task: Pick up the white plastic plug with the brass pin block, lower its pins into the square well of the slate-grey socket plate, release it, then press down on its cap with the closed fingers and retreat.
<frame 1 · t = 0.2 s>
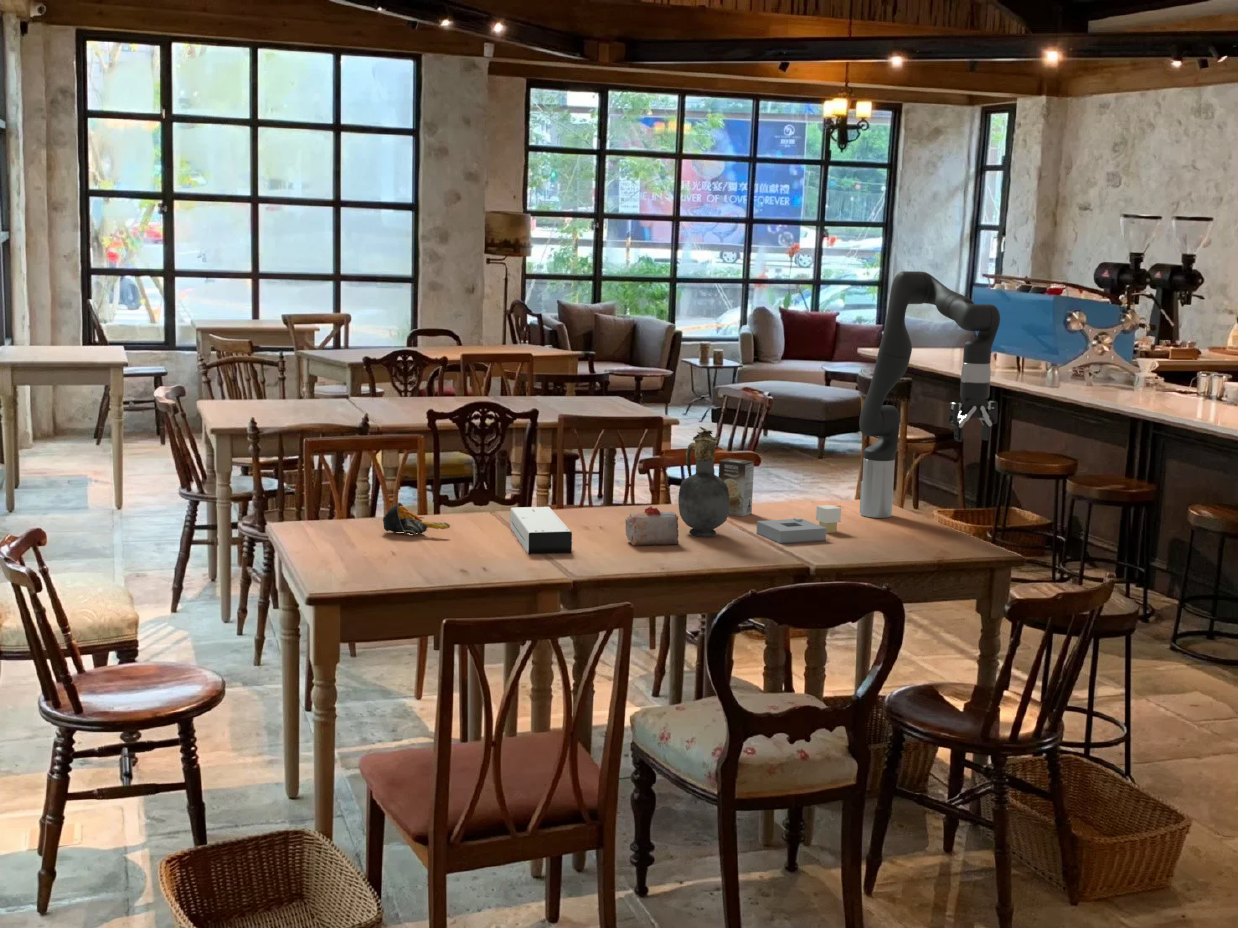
hand: (971, 440, 354), 29 cm above the table, fingers open, 8 cm apart
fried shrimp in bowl: (414, 535, 361), on the table
coffee box: (734, 513, 399), on the table
laminator: (541, 542, 357), on the table
food item: (651, 544, 356), on the table
socket plate: (790, 537, 367), on the table
plug: (827, 531, 375), on the table
pitcher: (700, 533, 370), on the table
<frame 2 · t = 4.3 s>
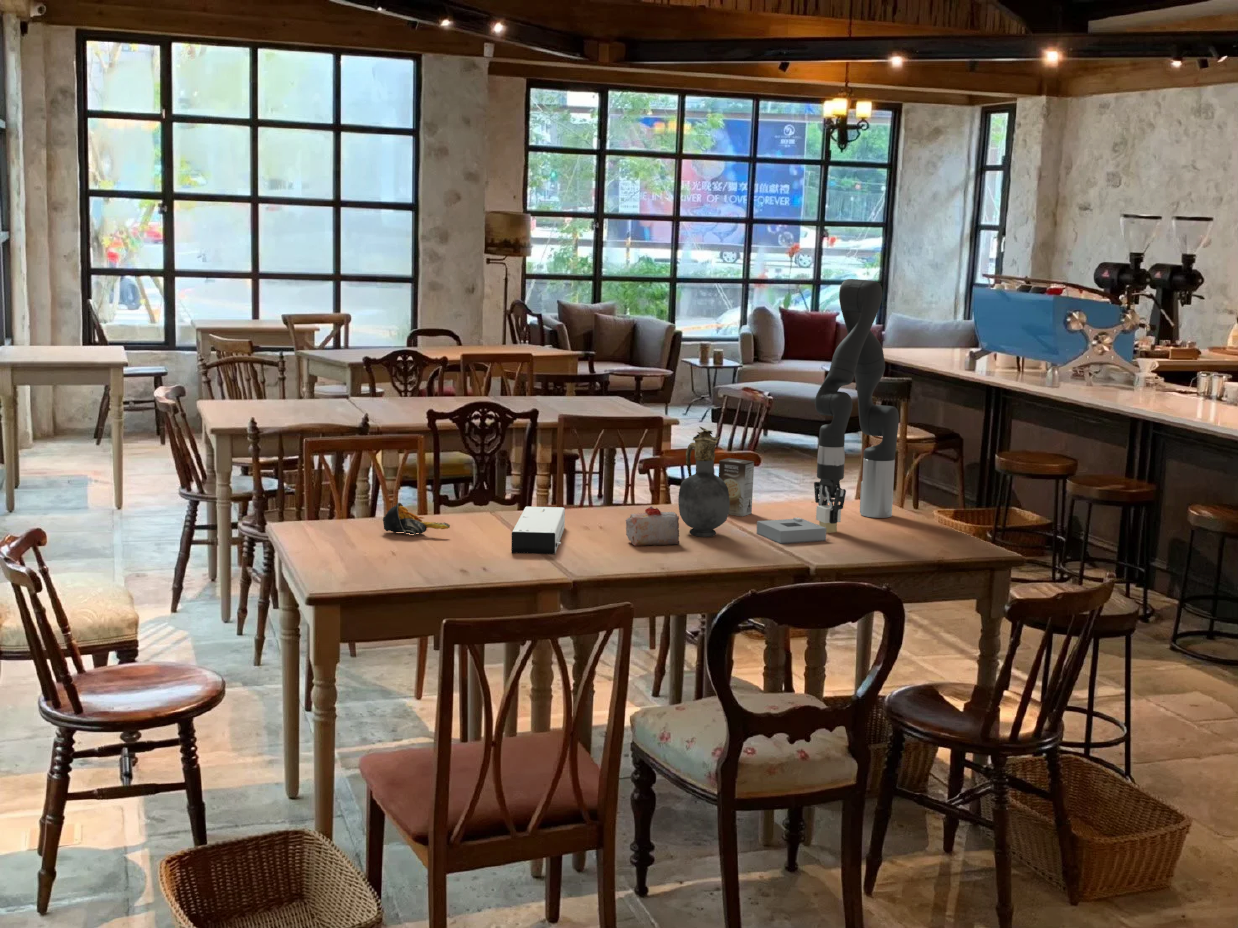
hand: (828, 521, 375), 3 cm above the table, fingers closed on plug, 5 cm apart
plug: (827, 531, 375), on the table, touching gripper
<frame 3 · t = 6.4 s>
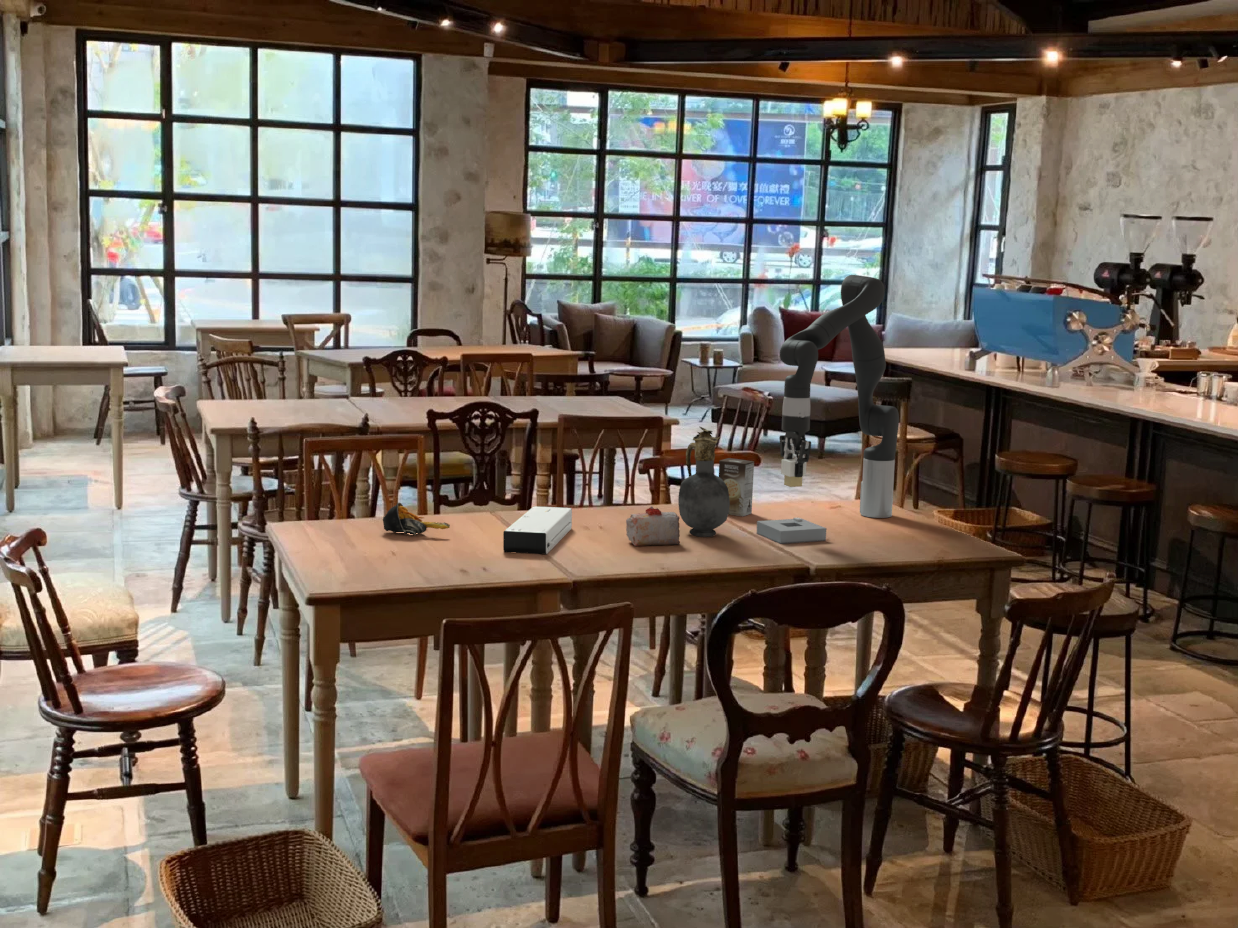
hand: (793, 475, 364), 17 cm above the table, fingers closed on plug, 5 cm apart
plug: (793, 485, 364), point 14 cm above the table, touching gripper
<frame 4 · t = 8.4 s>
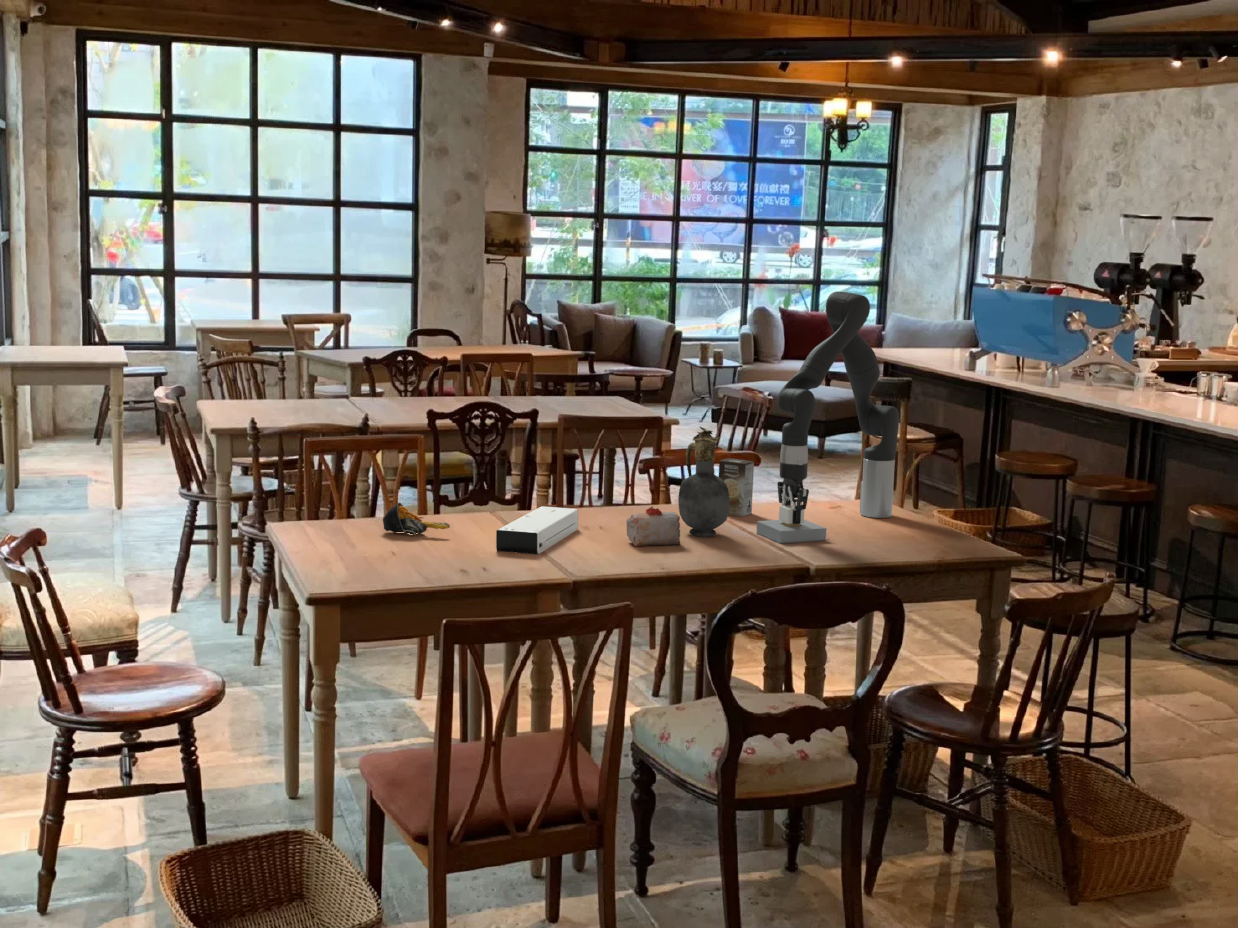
hand: (791, 521, 366), 4 cm above the table, fingers closed on plug, 4 cm apart
plug: (790, 532, 366), point 1 cm above the table, touching gripper
when the fingers open (4 cm above the table, at t = 8.6 s): plug stays where it is, resting on socket plate.
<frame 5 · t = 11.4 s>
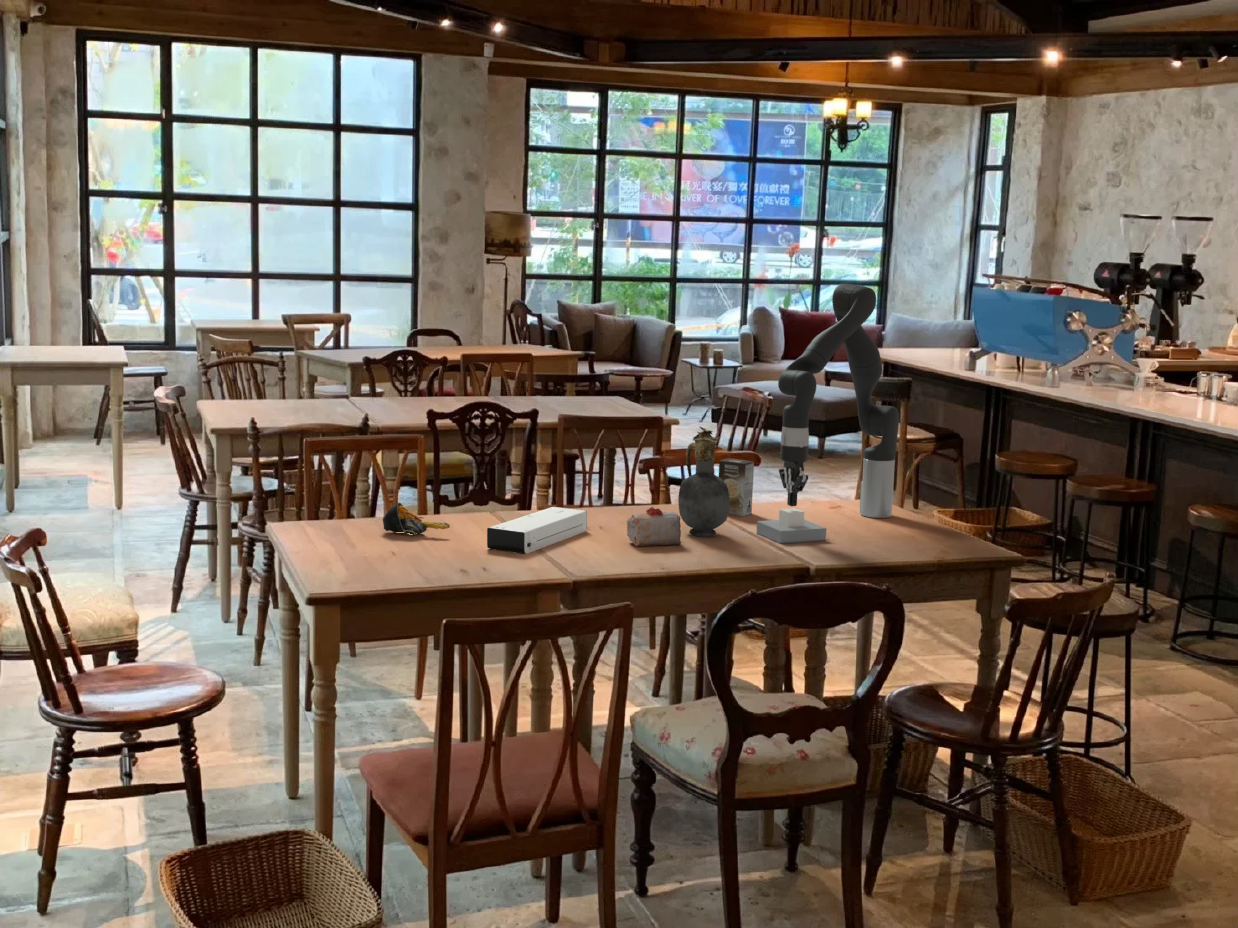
hand: (792, 505, 365), 9 cm above the table, fingers closed
plug: (790, 535, 367), resting on socket plate
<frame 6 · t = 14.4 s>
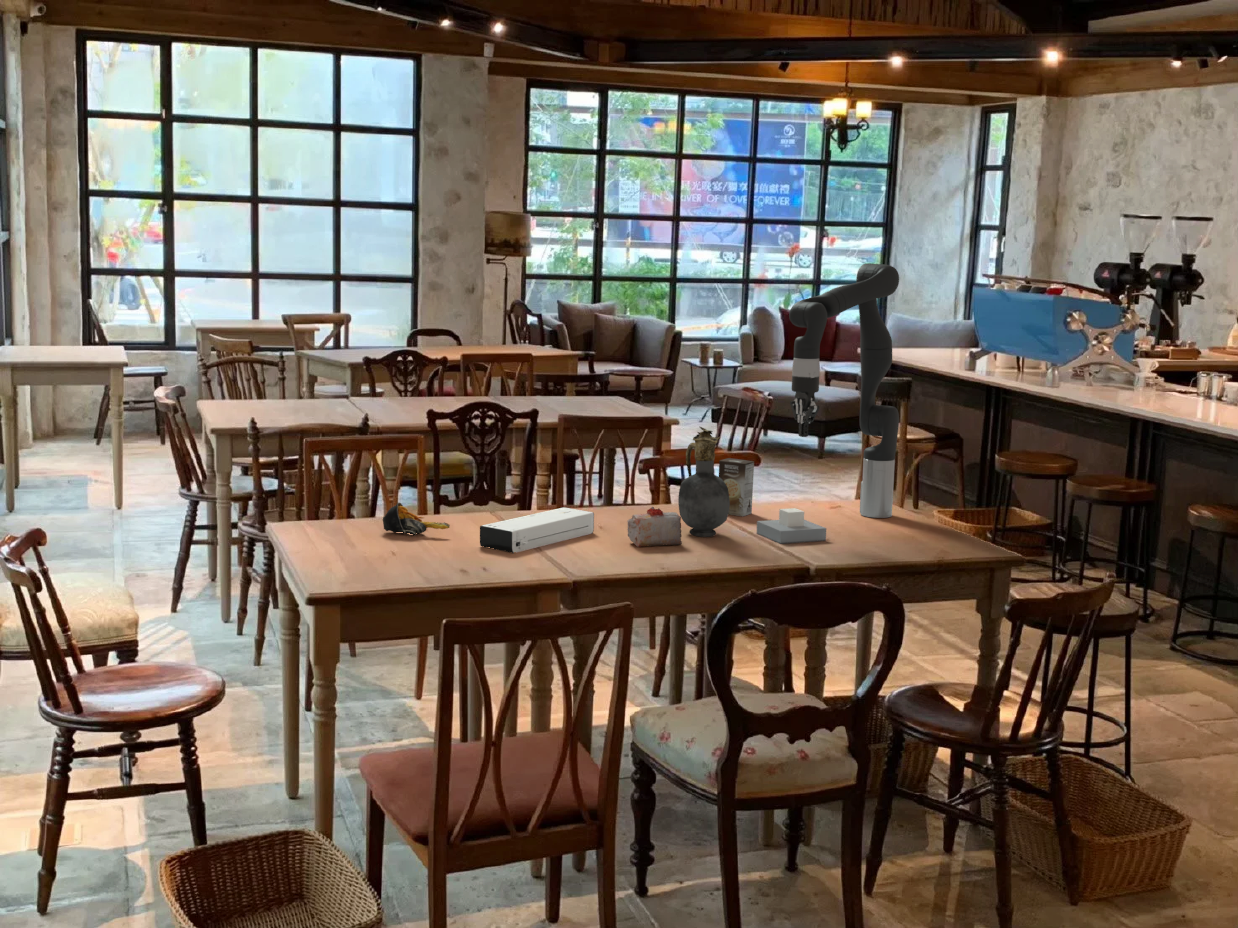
hand: (803, 436, 370), 27 cm above the table, fingers closed
at the end: plug 0.0 cm off-centre on the socket plate, point 0.5 cm above the socket plate's base; plug tilted 0°; the gripper is holding nothing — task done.
